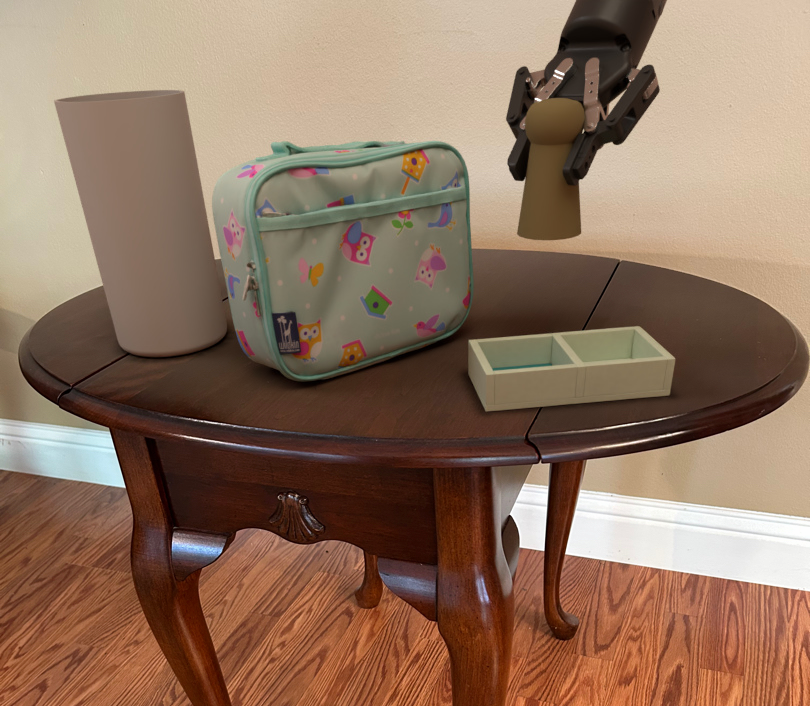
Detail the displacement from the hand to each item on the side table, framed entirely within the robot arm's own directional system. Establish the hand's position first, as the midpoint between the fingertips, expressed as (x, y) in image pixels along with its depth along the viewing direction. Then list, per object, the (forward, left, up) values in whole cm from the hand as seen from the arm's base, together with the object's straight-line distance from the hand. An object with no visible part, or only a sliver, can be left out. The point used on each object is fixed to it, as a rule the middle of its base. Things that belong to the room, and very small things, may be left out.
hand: (542, 176), depth 68 cm
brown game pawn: (-1, -2, -5) cm, 6 cm away
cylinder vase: (+42, -7, -18) cm, 46 cm away
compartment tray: (-3, +4, -18) cm, 19 cm away
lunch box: (+19, -3, -18) cm, 26 cm away
